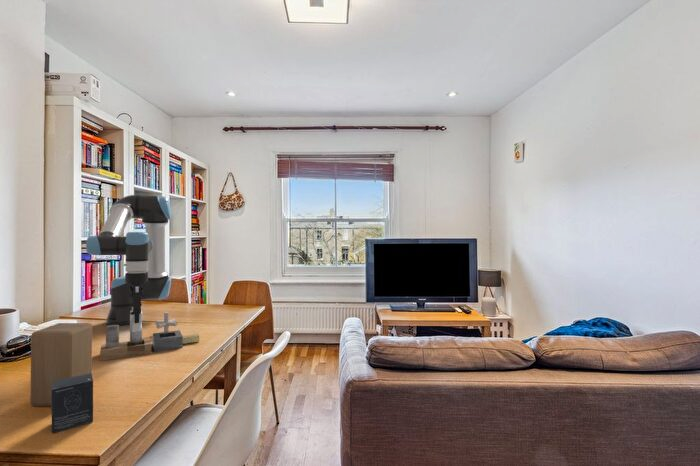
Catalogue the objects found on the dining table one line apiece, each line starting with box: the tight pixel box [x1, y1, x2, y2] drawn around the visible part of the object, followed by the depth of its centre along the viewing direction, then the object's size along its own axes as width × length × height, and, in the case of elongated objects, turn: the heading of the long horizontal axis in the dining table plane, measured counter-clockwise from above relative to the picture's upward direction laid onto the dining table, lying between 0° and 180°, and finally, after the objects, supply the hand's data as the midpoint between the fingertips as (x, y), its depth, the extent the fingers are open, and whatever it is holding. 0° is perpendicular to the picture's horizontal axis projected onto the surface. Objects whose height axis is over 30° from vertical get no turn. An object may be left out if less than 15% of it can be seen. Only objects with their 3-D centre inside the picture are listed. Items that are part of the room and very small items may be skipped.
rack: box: [99, 325, 152, 362], centre depth 132 cm, size 8×16×11 cm, turn 123°
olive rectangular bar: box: [182, 333, 200, 345], centre depth 145 cm, size 3×8×2 cm, turn 123°
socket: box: [152, 329, 184, 353], centre depth 141 cm, size 10×10×4 cm
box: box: [51, 372, 94, 434], centre depth 85 cm, size 8×6×11 cm
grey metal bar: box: [129, 309, 143, 346], centre depth 133 cm, size 4×4×16 cm
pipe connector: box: [155, 311, 178, 332], centre depth 156 cm, size 10×10×10 cm
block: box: [30, 322, 93, 407], centre depth 97 cm, size 10×10×20 cm
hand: (136, 327), depth 133 cm, fingers open, 13 cm apart
